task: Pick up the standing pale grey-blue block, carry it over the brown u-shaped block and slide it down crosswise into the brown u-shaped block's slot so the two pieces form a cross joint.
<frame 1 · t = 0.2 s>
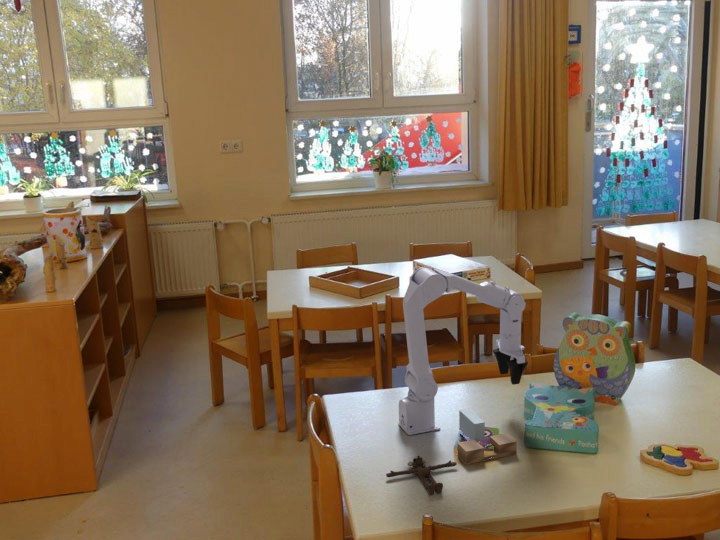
hand: (509, 378, 212), 10 cm above the table, tool pointing down, fingers open, 7 cm apart
brown monkey toy: (425, 481, 181), on the table
pale grey-blue block: (471, 440, 199), on the table
brown u-shaped block: (486, 454, 191), on the table
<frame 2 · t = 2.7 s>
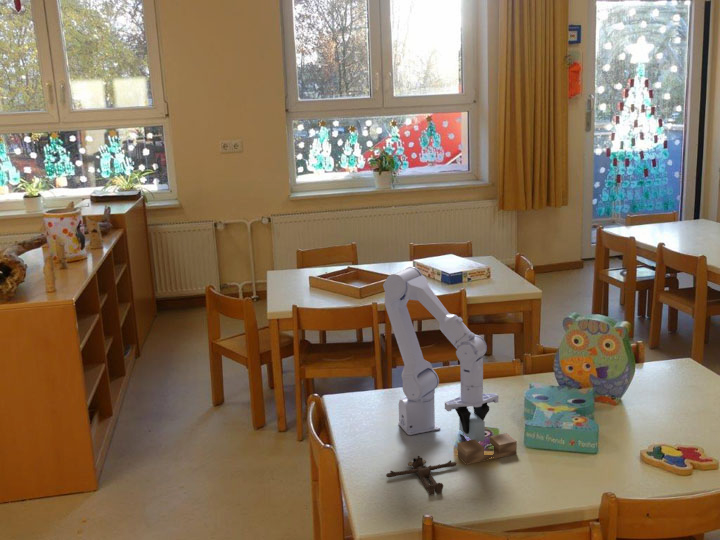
hand: (471, 431, 198), 3 cm above the table, tool pointing down, fingers closed on pale grey-blue block, 3 cm apart
pale grey-blue block: (471, 440, 199), on the table, touching gripper
everything else where it was.
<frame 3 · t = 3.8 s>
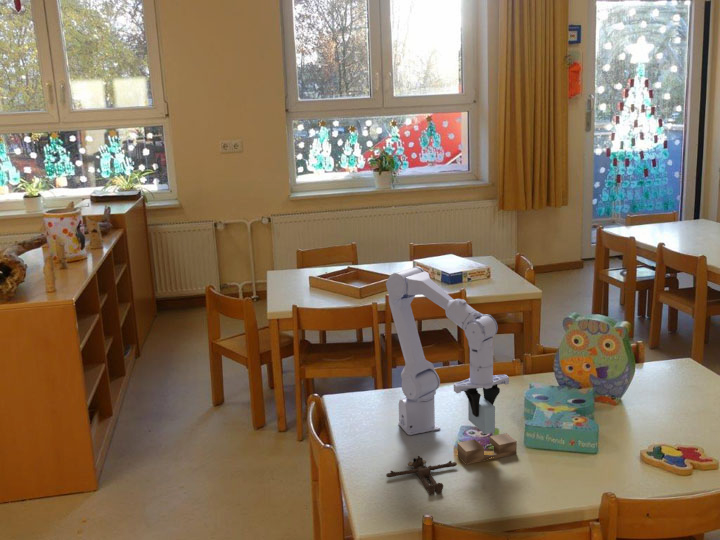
hand: (481, 414, 192), 10 cm above the table, tool pointing down, fingers closed on pale grey-blue block, 3 cm apart
pale grey-blue block: (481, 426, 193), point 6 cm above the table, touching gripper
everything else where it was.
when the fingers open (5 cm above the table, at t = 5.1 s): pale grey-blue block stays where it is, resting on brown u-shaped block.
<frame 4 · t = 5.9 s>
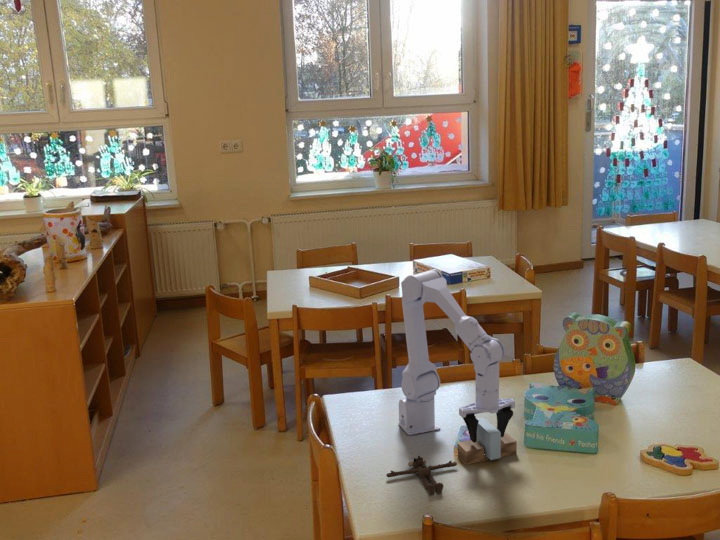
hand: (487, 438, 190), 5 cm above the table, tool pointing down, fingers open, 7 cm apart
pale grey-blue block: (486, 451, 191), point 1 cm above the table, touching brown u-shaped block
everything else where it was.
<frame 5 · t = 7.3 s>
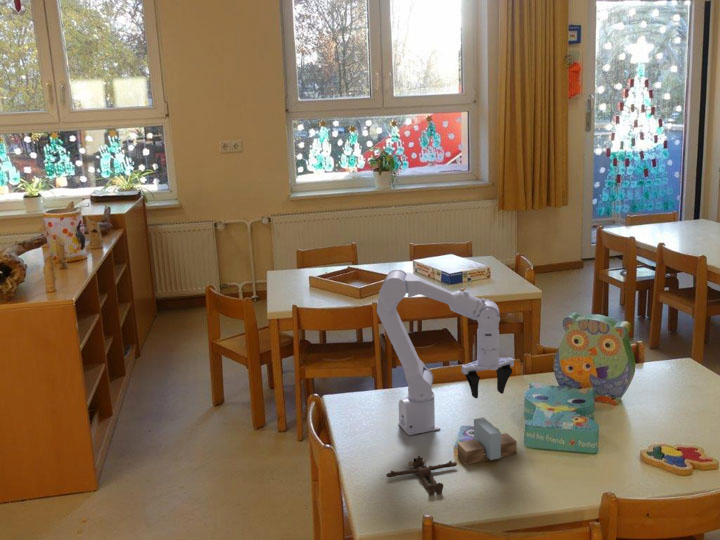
hand: (487, 394, 203), 10 cm above the table, tool pointing down, fingers open, 7 cm apart
nothing on the table moved.
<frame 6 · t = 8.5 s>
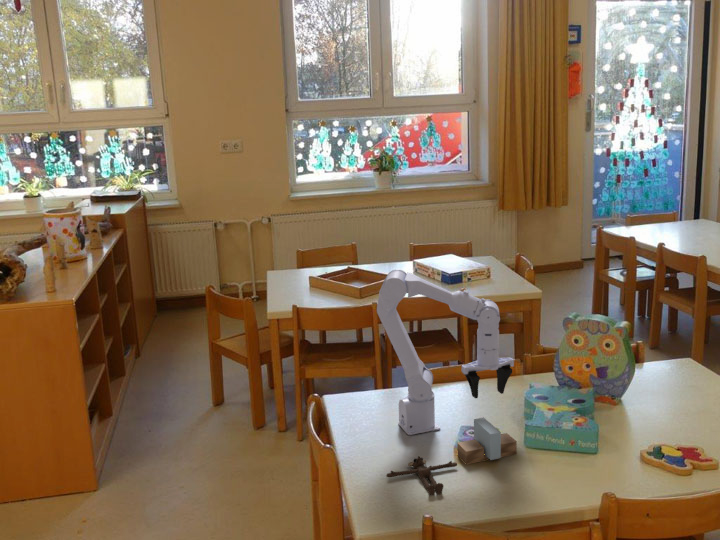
hand: (487, 394, 203), 10 cm above the table, tool pointing down, fingers open, 7 cm apart
nothing on the table moved.
at the end: pale grey-blue block 0.0 cm off-centre on the brown u-shaped block, point 1.0 cm above the brown u-shaped block's base; pale grey-blue block tilted 0°; the gripper is holding nothing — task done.
